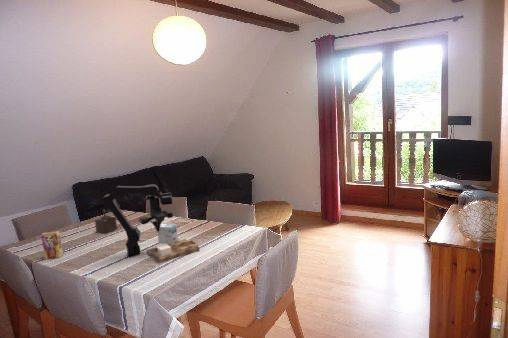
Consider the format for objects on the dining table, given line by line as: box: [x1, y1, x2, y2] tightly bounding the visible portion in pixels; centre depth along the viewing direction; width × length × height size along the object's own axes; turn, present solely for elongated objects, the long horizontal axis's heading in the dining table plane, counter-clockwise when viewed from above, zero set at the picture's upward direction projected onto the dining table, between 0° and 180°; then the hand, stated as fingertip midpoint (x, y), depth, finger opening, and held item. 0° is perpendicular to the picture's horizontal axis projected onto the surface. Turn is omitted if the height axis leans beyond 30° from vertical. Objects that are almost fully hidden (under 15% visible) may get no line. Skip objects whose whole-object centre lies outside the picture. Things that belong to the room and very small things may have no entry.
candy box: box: [40, 231, 64, 260], centre depth 213 cm, size 9×4×15 cm, turn 96°
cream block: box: [156, 243, 172, 257], centre depth 202 cm, size 6×6×4 cm
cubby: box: [173, 239, 199, 253], centre depth 210 cm, size 12×10×2 cm
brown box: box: [94, 203, 121, 235], centre depth 258 cm, size 16×11×18 cm
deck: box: [145, 238, 200, 264], centre depth 209 cm, size 25×19×4 cm
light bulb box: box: [157, 223, 179, 244], centre depth 227 cm, size 11×7×11 cm, turn 74°
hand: (157, 231), depth 211 cm, fingers closed
